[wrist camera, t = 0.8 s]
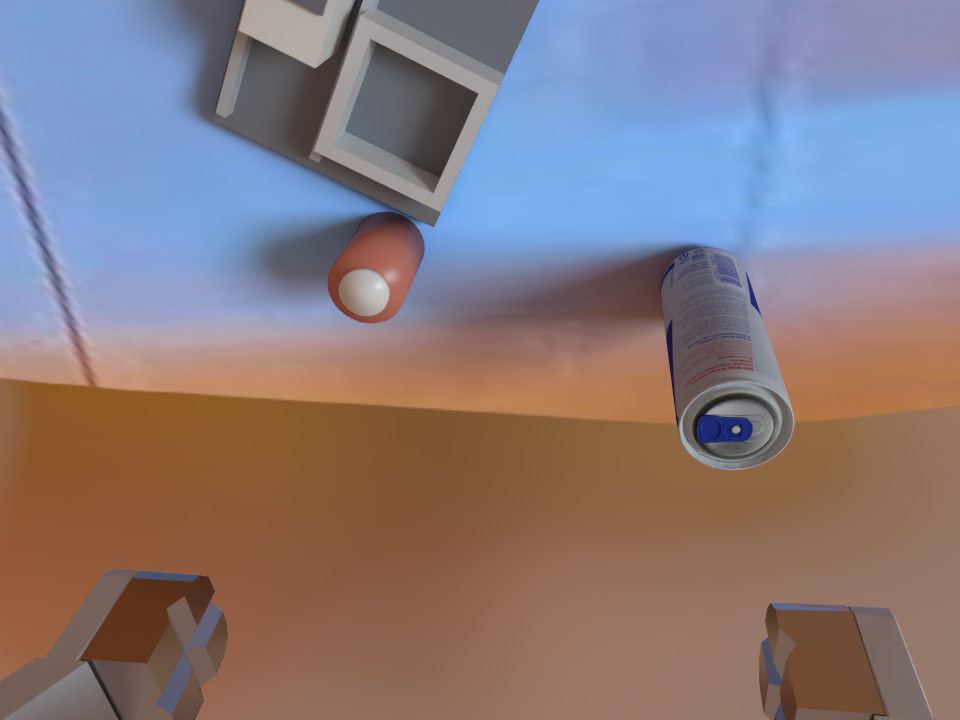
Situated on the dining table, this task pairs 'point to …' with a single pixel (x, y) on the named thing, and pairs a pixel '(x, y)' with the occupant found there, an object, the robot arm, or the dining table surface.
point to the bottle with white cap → (376, 268)
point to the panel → (381, 96)
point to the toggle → (298, 26)
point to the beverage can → (722, 363)
